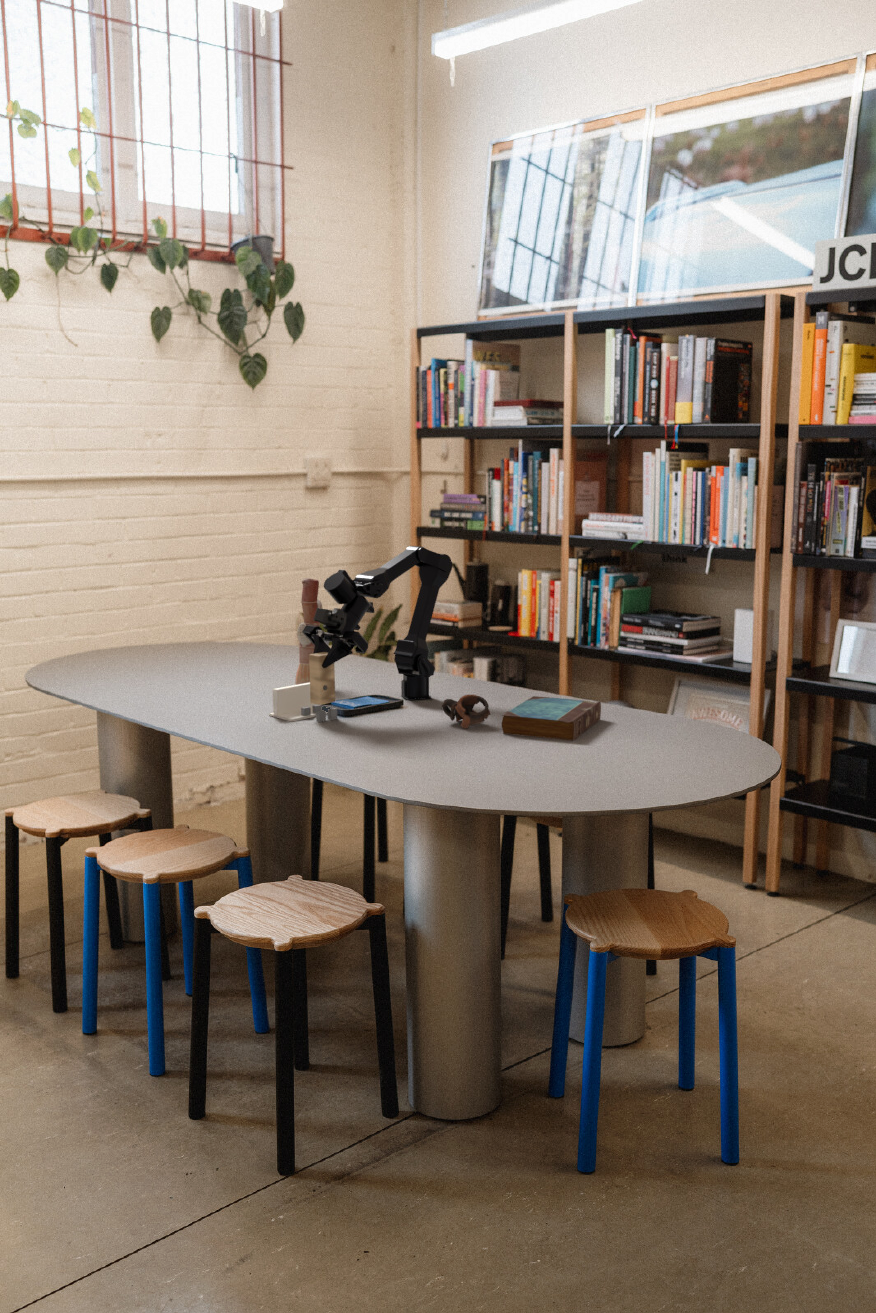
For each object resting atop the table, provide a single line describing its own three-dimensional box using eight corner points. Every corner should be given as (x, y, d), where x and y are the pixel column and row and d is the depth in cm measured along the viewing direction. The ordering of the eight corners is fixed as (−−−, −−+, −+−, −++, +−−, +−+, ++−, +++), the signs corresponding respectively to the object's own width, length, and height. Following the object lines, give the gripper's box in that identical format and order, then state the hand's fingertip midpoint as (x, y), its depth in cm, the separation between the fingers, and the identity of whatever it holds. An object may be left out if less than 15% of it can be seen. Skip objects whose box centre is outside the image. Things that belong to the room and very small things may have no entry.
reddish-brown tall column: (305, 689, 325) (302, 581, 319) (288, 685, 330) (285, 579, 324) (333, 683, 332) (331, 577, 327) (316, 680, 337) (314, 575, 332)
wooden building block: (325, 699, 291) (324, 651, 289) (336, 701, 289) (334, 653, 287) (310, 702, 288) (309, 654, 286) (320, 705, 285) (319, 656, 283)
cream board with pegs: (313, 706, 303) (312, 680, 302) (350, 715, 293) (349, 688, 291) (269, 715, 293) (268, 688, 292) (305, 725, 283) (305, 696, 282)
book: (573, 742, 267) (574, 721, 266) (500, 735, 273) (500, 714, 273) (600, 721, 287) (601, 701, 286) (532, 715, 294) (532, 695, 293)
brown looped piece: (490, 721, 288) (496, 696, 282) (480, 746, 281) (486, 721, 275) (443, 707, 289) (448, 682, 284) (432, 732, 282) (437, 707, 277)
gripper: (306, 592, 293) (273, 642, 287) (358, 598, 280) (325, 650, 274) (331, 620, 300) (299, 669, 294) (382, 627, 288) (350, 678, 282)
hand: (317, 666), depth 286 cm, fingers closed on wooden building block, 3 cm apart
